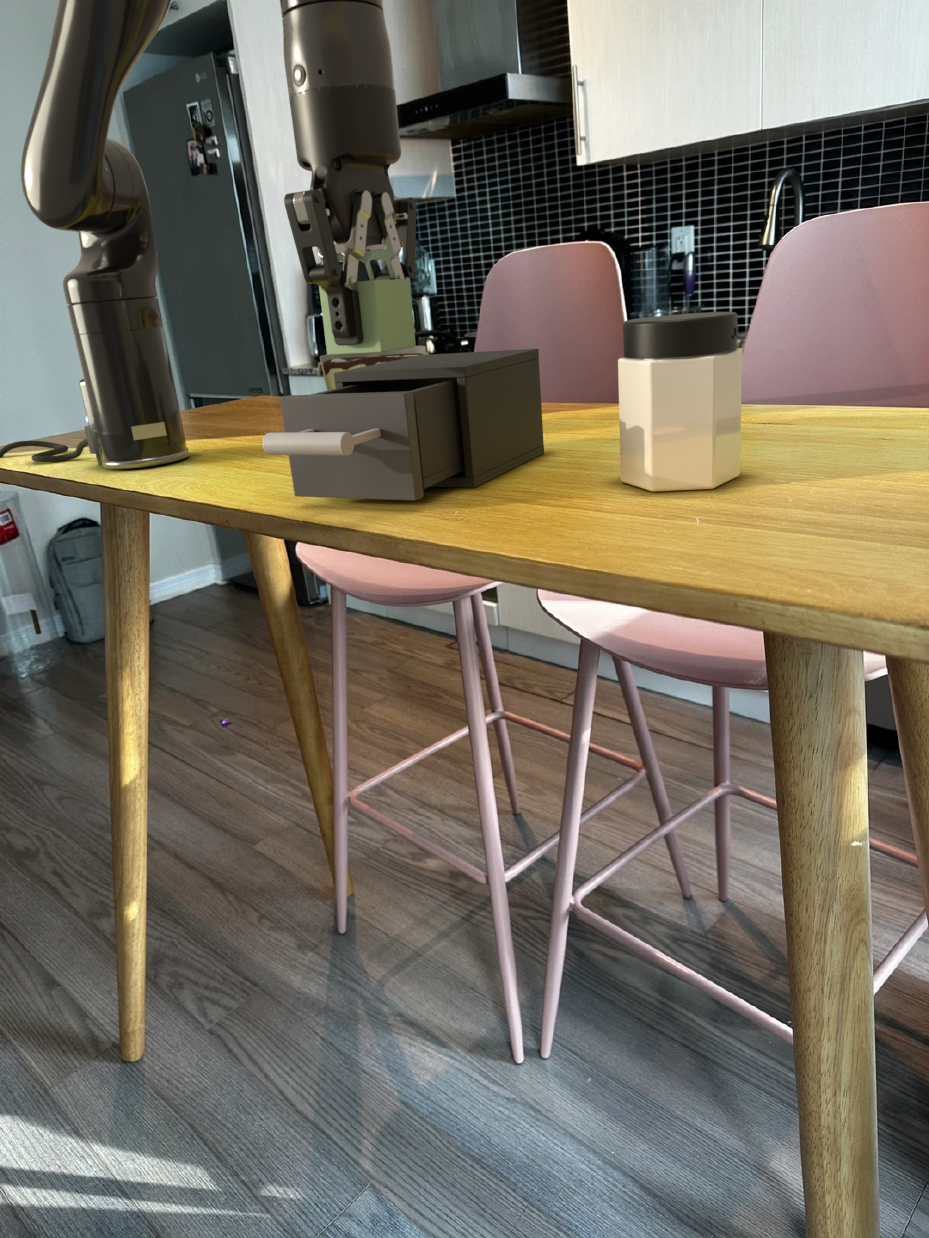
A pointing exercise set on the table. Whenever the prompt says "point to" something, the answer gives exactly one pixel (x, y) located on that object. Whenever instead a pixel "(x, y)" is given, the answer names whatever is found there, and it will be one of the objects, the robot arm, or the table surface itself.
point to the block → (377, 318)
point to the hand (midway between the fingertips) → (370, 340)
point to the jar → (680, 401)
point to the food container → (361, 361)
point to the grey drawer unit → (479, 405)
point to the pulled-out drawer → (372, 439)
